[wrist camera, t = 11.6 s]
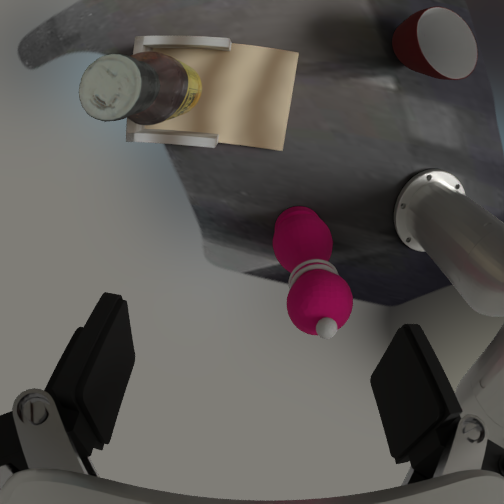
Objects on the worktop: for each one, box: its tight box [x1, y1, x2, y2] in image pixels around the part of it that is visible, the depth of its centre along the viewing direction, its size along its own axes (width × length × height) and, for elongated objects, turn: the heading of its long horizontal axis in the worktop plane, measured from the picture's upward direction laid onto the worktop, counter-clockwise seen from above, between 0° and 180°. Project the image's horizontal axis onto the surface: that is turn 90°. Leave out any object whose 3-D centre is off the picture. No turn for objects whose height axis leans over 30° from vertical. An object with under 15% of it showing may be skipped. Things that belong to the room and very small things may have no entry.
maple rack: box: [126, 36, 299, 151], centre depth 30 cm, size 18×12×5 cm, turn 82°
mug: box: [392, 7, 478, 80], centre depth 24 cm, size 10×8×10 cm
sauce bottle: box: [79, 51, 202, 125], centre depth 23 cm, size 7×6×20 cm
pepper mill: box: [273, 206, 353, 339], centre depth 33 cm, size 7×7×20 cm
